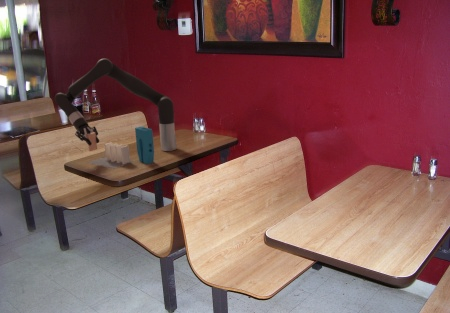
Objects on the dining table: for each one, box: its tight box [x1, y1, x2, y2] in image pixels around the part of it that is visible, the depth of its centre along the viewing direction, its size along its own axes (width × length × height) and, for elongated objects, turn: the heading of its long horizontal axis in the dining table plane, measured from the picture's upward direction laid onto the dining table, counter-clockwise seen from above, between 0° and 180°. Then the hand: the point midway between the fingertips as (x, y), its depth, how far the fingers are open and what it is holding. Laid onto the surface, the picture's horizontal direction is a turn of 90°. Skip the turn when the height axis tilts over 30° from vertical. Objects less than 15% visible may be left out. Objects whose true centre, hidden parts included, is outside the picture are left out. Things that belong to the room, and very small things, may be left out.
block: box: [134, 126, 155, 165], centre depth 265 cm, size 12×5×20 cm, turn 40°
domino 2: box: [110, 142, 119, 162], centre depth 270 cm, size 1×5×10 cm, turn 146°
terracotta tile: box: [87, 132, 98, 152], centre depth 266 cm, size 1×5×10 cm, turn 146°
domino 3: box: [115, 143, 124, 163], centre depth 267 cm, size 1×5×10 cm, turn 145°
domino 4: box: [121, 144, 131, 165], centre depth 265 cm, size 1×5×10 cm, turn 145°
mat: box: [87, 155, 134, 170], centre depth 269 cm, size 23×15×1 cm, turn 56°
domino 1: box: [103, 141, 113, 161], centre depth 272 cm, size 1×5×10 cm, turn 145°
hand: (94, 143), depth 266 cm, fingers closed on terracotta tile, 5 cm apart
